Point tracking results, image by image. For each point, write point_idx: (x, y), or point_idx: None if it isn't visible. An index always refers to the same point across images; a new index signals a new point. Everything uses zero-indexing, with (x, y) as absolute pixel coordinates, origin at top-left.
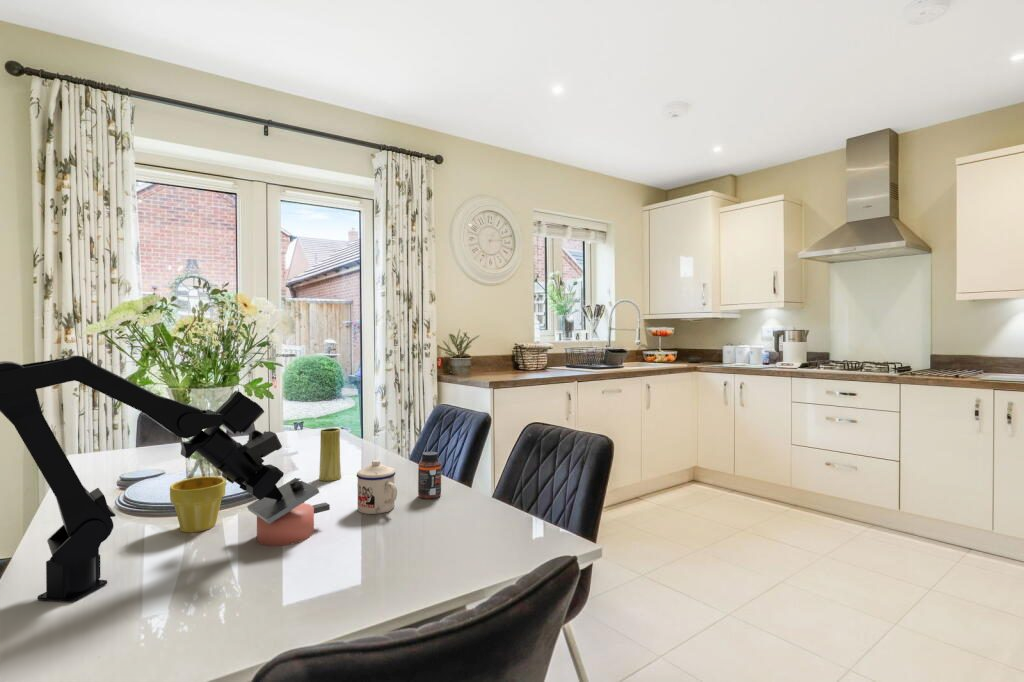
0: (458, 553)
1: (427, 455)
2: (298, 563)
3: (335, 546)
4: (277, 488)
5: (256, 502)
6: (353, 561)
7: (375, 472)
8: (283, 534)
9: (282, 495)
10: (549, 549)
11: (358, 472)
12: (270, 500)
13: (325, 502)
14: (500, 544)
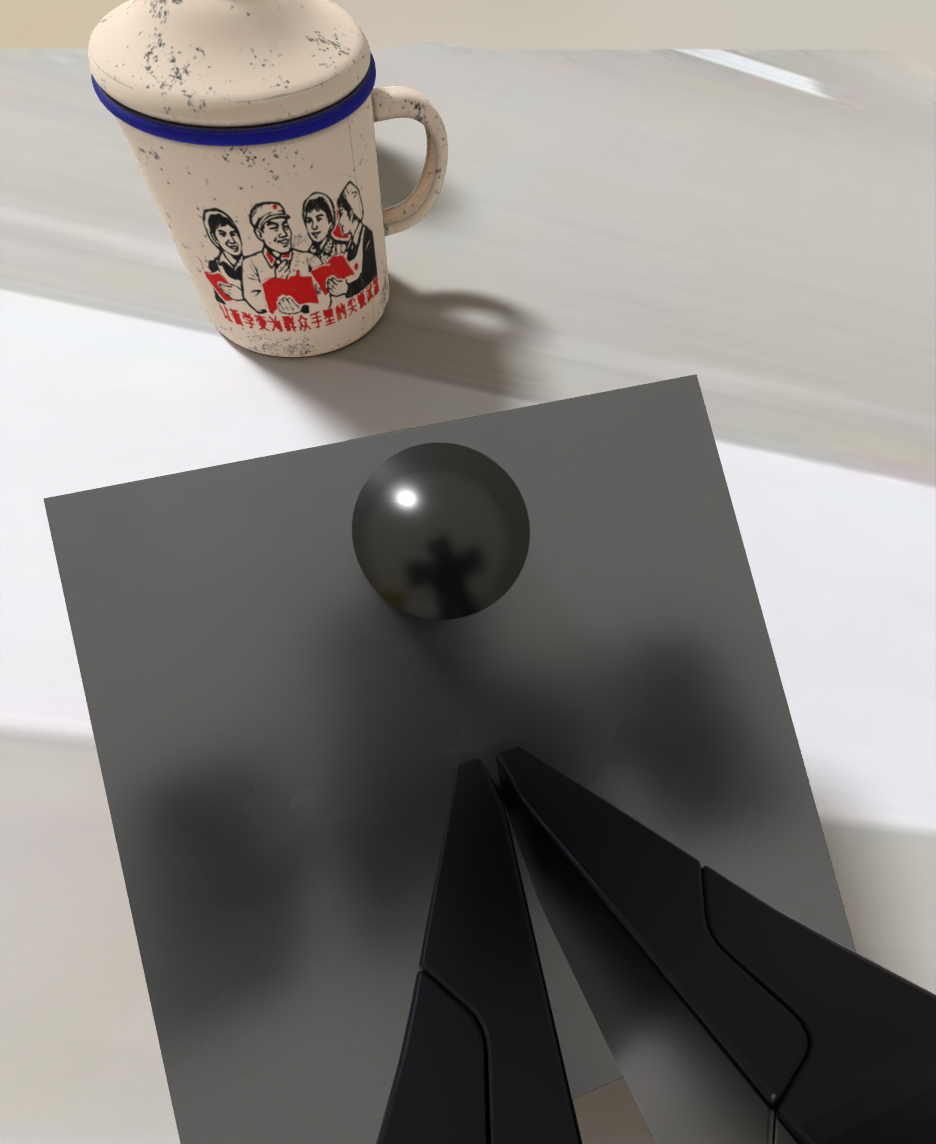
0: (903, 239)
1: None
2: (927, 744)
3: None
4: (651, 832)
5: (239, 1106)
6: (932, 513)
7: (316, 37)
8: None
9: (530, 752)
10: (908, 102)
11: (185, 98)
12: (406, 905)
13: (348, 440)
14: (851, 152)
